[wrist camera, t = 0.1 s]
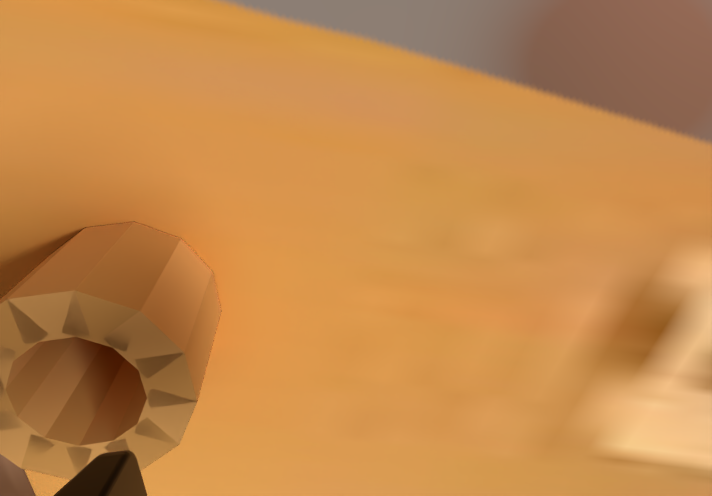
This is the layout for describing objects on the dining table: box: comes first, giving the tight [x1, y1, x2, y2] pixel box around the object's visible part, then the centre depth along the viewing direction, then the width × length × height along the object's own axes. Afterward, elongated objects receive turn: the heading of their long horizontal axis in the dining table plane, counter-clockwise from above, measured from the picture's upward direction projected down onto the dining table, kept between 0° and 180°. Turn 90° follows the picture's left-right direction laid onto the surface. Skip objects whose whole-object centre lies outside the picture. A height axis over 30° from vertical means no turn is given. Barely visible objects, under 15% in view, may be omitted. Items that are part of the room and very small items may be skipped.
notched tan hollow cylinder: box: [0, 222, 221, 480], centre depth 19 cm, size 7×7×6 cm
